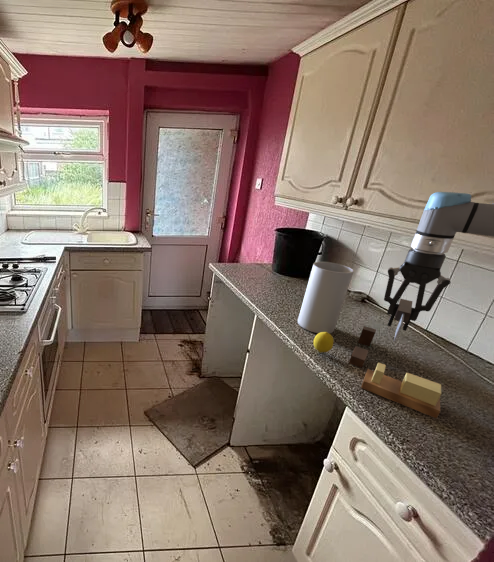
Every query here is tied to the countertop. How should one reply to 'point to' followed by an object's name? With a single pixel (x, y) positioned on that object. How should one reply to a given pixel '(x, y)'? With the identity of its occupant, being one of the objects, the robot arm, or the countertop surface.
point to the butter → (421, 389)
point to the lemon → (323, 342)
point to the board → (398, 394)
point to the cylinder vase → (324, 296)
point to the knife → (402, 314)
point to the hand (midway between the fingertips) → (396, 326)
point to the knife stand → (360, 353)
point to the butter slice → (378, 373)
